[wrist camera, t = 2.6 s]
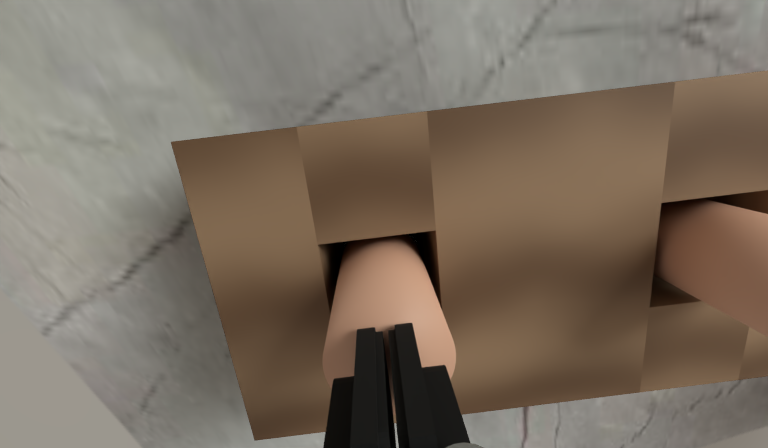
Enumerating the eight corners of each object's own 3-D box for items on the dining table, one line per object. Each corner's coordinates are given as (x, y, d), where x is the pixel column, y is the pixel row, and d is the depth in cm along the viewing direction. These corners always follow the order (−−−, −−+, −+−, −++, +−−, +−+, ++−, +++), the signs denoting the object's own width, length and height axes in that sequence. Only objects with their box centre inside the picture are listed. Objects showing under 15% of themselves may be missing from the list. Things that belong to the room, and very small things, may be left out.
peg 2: (627, 198, 17) (818, 256, 10) (710, 187, 17) (962, 239, 10) (620, 274, 18) (788, 378, 11) (698, 265, 18) (917, 361, 11)
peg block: (244, 133, 21) (170, 141, 13) (720, 76, 21) (926, 51, 13) (290, 340, 25) (254, 440, 17) (688, 290, 25) (832, 368, 17)
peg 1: (335, 230, 17) (311, 311, 10) (417, 220, 17) (452, 293, 10) (347, 303, 18) (333, 422, 11) (423, 294, 18) (459, 407, 11)
